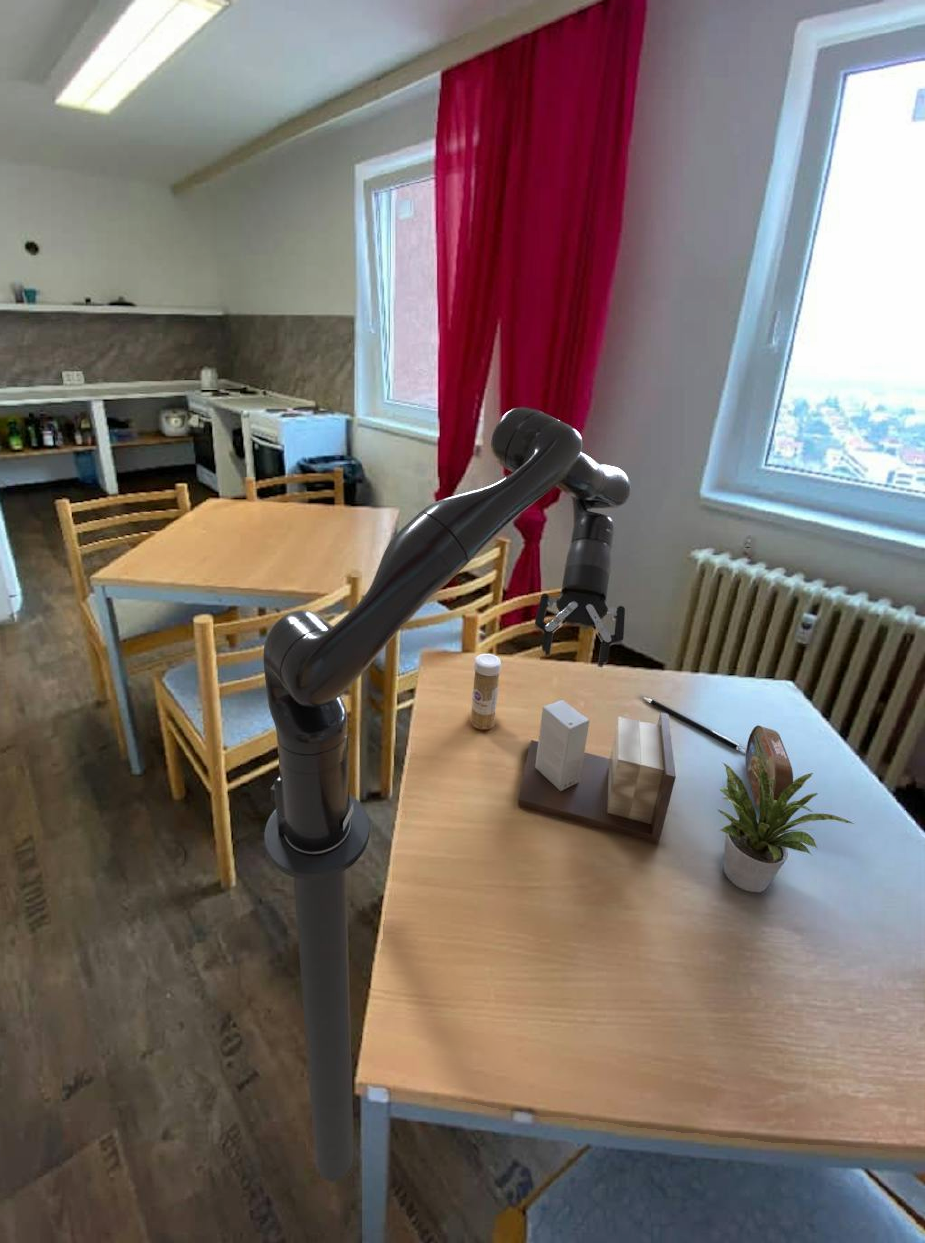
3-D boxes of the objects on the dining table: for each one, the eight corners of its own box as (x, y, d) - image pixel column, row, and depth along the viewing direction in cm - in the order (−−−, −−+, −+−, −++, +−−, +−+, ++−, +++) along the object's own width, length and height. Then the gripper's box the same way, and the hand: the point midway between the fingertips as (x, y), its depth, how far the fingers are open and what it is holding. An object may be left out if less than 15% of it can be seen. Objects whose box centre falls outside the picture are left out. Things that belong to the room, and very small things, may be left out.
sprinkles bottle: (465, 724, 105) (470, 661, 100) (477, 711, 109) (482, 649, 104) (488, 734, 103) (494, 670, 98) (499, 720, 106) (505, 658, 101)
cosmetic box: (580, 782, 91) (591, 720, 86) (560, 792, 89) (570, 729, 85) (553, 758, 96) (562, 698, 91) (533, 767, 94) (541, 706, 89)
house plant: (816, 861, 80) (853, 769, 74) (822, 949, 69) (867, 848, 63) (702, 817, 87) (727, 729, 80) (691, 891, 76) (719, 795, 69)
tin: (741, 754, 99) (754, 713, 96) (762, 758, 98) (775, 718, 95) (759, 821, 86) (774, 777, 83) (783, 827, 85) (799, 783, 82)
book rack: (517, 805, 88) (525, 741, 84) (530, 745, 100) (537, 686, 96) (658, 843, 82) (675, 777, 78) (654, 775, 94) (668, 713, 90)
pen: (744, 755, 99) (746, 750, 99) (642, 700, 113) (643, 695, 113) (746, 753, 100) (748, 747, 99) (644, 698, 114) (645, 693, 113)
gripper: (545, 556, 100) (529, 646, 95) (633, 569, 96) (621, 664, 91) (545, 572, 107) (530, 657, 101) (627, 585, 103) (616, 674, 97)
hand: (573, 660), depth 96 cm, fingers open, 8 cm apart
